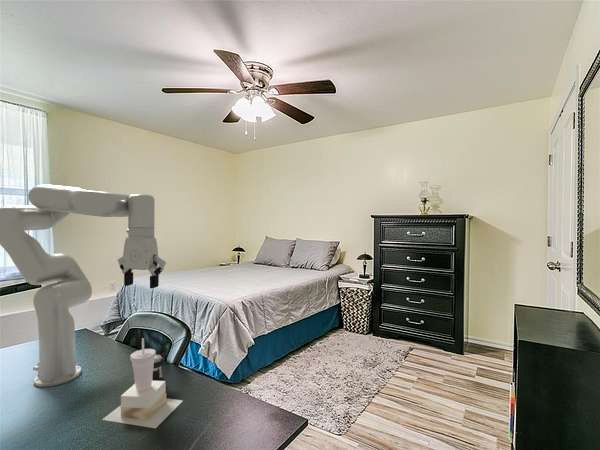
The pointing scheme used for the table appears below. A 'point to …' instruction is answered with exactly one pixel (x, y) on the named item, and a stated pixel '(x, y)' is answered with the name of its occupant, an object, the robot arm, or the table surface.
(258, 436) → the table surface
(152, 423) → the felt mat
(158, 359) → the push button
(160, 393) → the top slab
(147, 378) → the smoothie
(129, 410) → the bottom slab
